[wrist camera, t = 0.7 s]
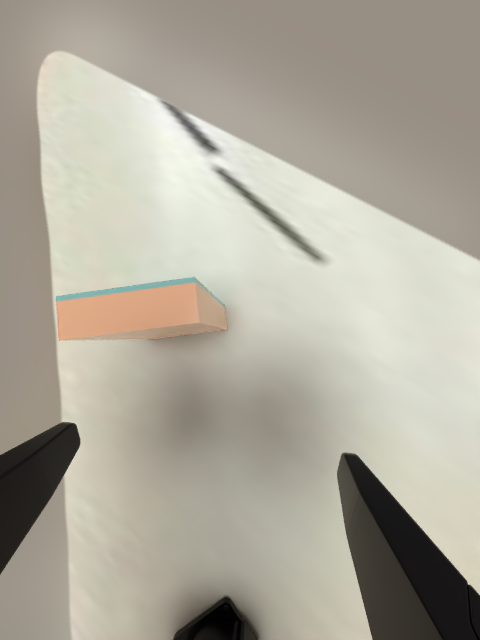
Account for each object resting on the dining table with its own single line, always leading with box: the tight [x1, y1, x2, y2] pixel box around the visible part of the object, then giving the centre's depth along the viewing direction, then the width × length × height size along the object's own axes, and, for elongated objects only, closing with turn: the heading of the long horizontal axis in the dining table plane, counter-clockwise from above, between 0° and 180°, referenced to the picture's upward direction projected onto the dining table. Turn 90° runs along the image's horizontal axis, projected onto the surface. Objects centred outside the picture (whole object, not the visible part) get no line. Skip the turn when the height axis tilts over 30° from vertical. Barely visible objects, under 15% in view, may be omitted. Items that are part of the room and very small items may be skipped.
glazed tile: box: [56, 277, 228, 340], centre depth 20 cm, size 2×8×12 cm, turn 97°
